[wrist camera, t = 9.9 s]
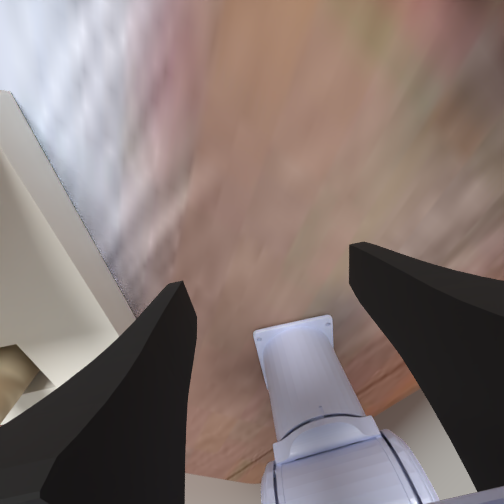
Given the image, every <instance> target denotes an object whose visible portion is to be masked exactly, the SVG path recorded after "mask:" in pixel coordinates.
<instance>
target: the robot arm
mask: <svg viewBox="0 0 504 504" xmlns="http://www.w3.org/2000/svg"><path fill="white" fill-rule="evenodd" d="M349 284H350V286H351V288H352V290H353V291H354V293H355V295H356V297H357V298H358V300H359V302H360V303H361V305H362V306H363V307H364V309H365V310H366V311H367V312H368V314H369V315H370V316H371V318H372V319H373V320H374V321H375V323H376V324H377V325H378V327H379V328H380V329H381V330H382V332H383V333H384V334H385V336H386V337H387V338H388V339H389V341H390V342H391V343H392V345H393V346H394V347H395V349H396V350H397V351H398V353H399V354H400V356H401V357H402V359H403V360H404V362H405V363H406V365H407V367H408V368H409V370H410V371H411V373H412V375H413V376H414V378H415V379H416V381H417V383H418V384H419V386H420V388H421V389H422V391H423V393H424V394H425V396H426V398H427V399H428V401H429V402H430V404H431V406H432V408H433V410H434V411H435V413H436V415H437V417H438V418H439V420H440V422H441V424H442V426H443V427H444V429H445V431H446V433H447V434H448V436H449V438H450V440H451V442H452V443H453V446H454V447H455V449H456V451H457V453H458V455H459V457H460V459H461V460H462V462H463V464H464V466H465V468H466V470H467V472H468V474H469V476H470V478H471V480H472V482H473V484H474V486H475V488H476V490H477V492H476V493H471V494H467V495H462V496H458V497H453V498H449V499H444V500H439V498H438V496H437V494H436V492H435V490H434V488H433V486H432V484H431V482H430V480H429V479H428V477H427V475H426V473H425V472H424V470H423V468H422V466H421V465H420V463H419V462H418V460H417V458H416V457H415V455H414V454H413V452H412V451H411V449H410V448H409V446H408V445H407V444H406V443H405V442H404V441H403V439H402V438H400V437H399V436H397V435H396V434H394V433H393V432H391V431H390V430H389V429H383V430H379V429H378V427H377V426H376V423H375V421H374V420H373V418H372V416H366V415H365V413H364V411H363V409H362V407H361V405H360V402H359V400H358V398H357V396H356V394H355V392H354V390H353V388H352V386H351V384H350V382H349V380H348V378H347V376H346V374H345V372H344V370H343V368H342V366H341V364H340V362H339V360H338V358H337V356H336V354H335V351H334V347H333V319H332V317H331V316H330V315H323V316H318V317H314V318H309V319H304V320H300V321H295V322H291V323H286V324H281V325H277V326H272V327H268V328H263V329H259V330H255V331H254V332H253V337H254V341H255V345H256V348H257V352H258V356H259V360H260V364H261V368H262V372H263V376H264V380H265V384H266V387H267V389H268V390H269V396H270V402H271V408H272V413H273V419H274V425H275V431H276V436H277V442H276V443H274V444H273V450H274V457H275V460H274V461H271V462H268V463H267V465H266V469H265V472H264V474H263V477H262V481H261V504H504V281H501V280H496V279H491V278H486V277H481V276H477V275H473V274H468V273H464V272H460V271H456V270H452V269H448V268H444V267H441V266H438V265H434V264H431V263H427V262H424V261H421V260H418V259H415V258H412V257H409V256H406V255H403V254H400V253H397V252H394V251H391V250H389V249H386V248H383V247H380V246H377V245H374V244H371V243H367V242H360V243H355V244H350V245H349ZM326 323H327V324H326ZM196 339H197V316H196V313H195V311H194V308H193V305H192V303H191V300H190V298H189V295H188V293H187V290H186V288H185V285H184V282H183V281H179V282H174V283H170V284H168V285H167V286H166V287H165V288H164V289H163V290H162V291H161V292H160V293H159V295H158V296H157V297H156V298H155V299H154V300H153V301H152V302H151V304H150V305H149V306H148V307H147V308H146V309H145V310H144V311H143V312H142V314H141V315H140V316H139V317H138V318H137V319H136V320H135V321H134V322H133V323H132V324H131V325H130V326H129V327H128V328H127V329H126V330H125V331H124V332H123V333H122V334H121V335H120V336H119V337H118V338H117V339H116V340H115V341H114V342H113V343H112V344H111V345H110V346H109V347H108V348H107V349H105V350H104V351H103V352H102V353H101V354H100V355H99V356H97V357H96V358H95V359H94V360H93V361H92V362H90V363H89V364H88V365H87V366H85V367H84V368H83V369H81V370H80V371H79V372H78V373H76V374H75V375H74V376H73V377H71V378H70V379H69V380H67V381H66V382H65V383H64V384H62V385H61V386H60V387H58V388H57V389H56V390H54V391H53V392H51V393H50V394H49V395H47V396H46V397H44V398H43V399H42V400H40V401H39V402H37V403H36V404H34V405H33V406H31V407H30V408H28V409H27V410H25V411H24V412H23V413H21V414H20V415H18V416H17V417H15V418H13V419H12V420H10V421H9V422H7V423H6V424H4V425H3V426H1V427H0V504H184V503H185V499H184V498H185V497H184V496H185V446H186V421H187V402H188V393H189V386H190V379H191V373H192V366H193V360H194V353H195V346H196Z"/></svg>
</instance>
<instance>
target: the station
mask: <svg viewBox="0 0 504 504" xmlns="http://www.w3.org/2000/svg"><path fill="white" fill-rule="evenodd" d="M135 320H136V318H135V316H134V314H133V312H132V310H131V309H130V307H129V305H128V303H127V301H126V300H125V298H124V296H123V294H122V292H121V291H120V289H119V287H118V285H117V283H116V282H115V280H114V278H113V276H112V274H111V273H110V271H109V269H108V267H107V265H106V264H105V262H104V260H103V258H102V256H101V255H100V253H99V251H98V249H97V247H96V246H95V244H94V242H93V240H92V238H91V237H90V235H89V233H88V231H87V229H86V227H85V226H84V224H83V222H82V220H81V218H80V217H79V215H78V213H77V211H76V209H75V208H74V206H73V204H72V202H71V200H70V199H69V197H68V195H67V193H66V191H65V190H64V188H63V186H62V184H61V182H60V181H59V179H58V177H57V175H56V173H55V172H54V170H53V168H52V166H51V164H50V163H49V161H48V159H47V157H46V155H45V153H44V152H43V150H42V148H41V146H40V144H39V143H38V141H37V139H36V137H35V135H34V134H33V132H32V130H31V128H30V126H29V125H28V123H27V121H26V119H25V117H24V116H23V114H22V112H21V110H20V108H19V107H18V105H17V103H16V101H15V99H14V98H13V96H12V94H11V92H10V91H4V90H0V347H5V346H9V345H14V344H17V345H18V346H19V348H20V349H21V350H22V351H23V352H24V353H25V354H26V355H27V356H28V357H29V358H30V359H31V360H32V361H33V363H34V364H35V365H36V366H37V367H38V368H39V369H40V371H39V372H38V374H37V375H36V376H35V378H34V379H33V381H32V382H31V383H30V385H29V386H28V387H27V389H26V390H25V391H24V393H23V394H22V395H21V397H20V398H19V400H18V401H17V402H16V404H15V405H14V406H13V408H12V409H11V410H10V412H9V413H8V415H7V416H6V417H5V419H4V420H3V421H2V423H1V424H0V425H3V424H6V423H7V422H9V421H10V420H12V419H13V418H15V417H17V416H18V415H20V414H21V413H23V412H24V411H25V410H27V409H28V408H30V407H31V406H33V405H34V404H36V403H37V402H39V401H40V400H42V399H43V398H44V397H46V396H47V395H49V394H50V393H51V392H53V391H54V390H56V389H57V388H58V387H60V386H61V385H62V384H64V383H65V382H66V381H67V380H69V379H70V378H71V377H73V376H74V375H75V374H76V373H78V372H79V371H80V370H81V369H83V368H84V367H85V366H87V365H88V364H89V363H90V362H92V361H93V360H94V359H95V358H96V357H97V356H99V355H100V354H101V353H102V352H103V351H104V350H105V349H107V348H108V347H109V346H110V345H111V344H112V343H113V342H114V341H115V340H116V339H117V338H118V337H119V336H120V335H121V334H122V333H123V332H124V331H125V330H126V329H127V328H128V327H129V326H130V325H131V324H132V323H133V322H134V321H135Z"/></svg>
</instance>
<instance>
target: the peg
mask: <svg viewBox="0 0 504 504" xmlns="http://www.w3.org/2000/svg"><path fill="white" fill-rule="evenodd" d="M39 371H40V369H39V368H38V367H37V366H36V365H35V364H34V363H33V361H32V360H31V359H30V358H29V357H28V356H27V355H26V354H25V353H24V352H23V351H22V350H21V349H20V348H19V346H18V345H17V344H14V345H9V346H5V347H0V424H1V423H2V421H3V420H4V419H5V417H6V416H7V415H8V413H9V412H10V410H11V409H12V408H13V406H14V405H15V404H16V402H17V401H18V400H19V398H20V397H21V395H22V394H23V393H24V391H25V390H26V389H27V387H28V386H29V385H30V383H31V382H32V381H33V379H34V378H35V376H36V375H37V374H38V372H39Z"/></svg>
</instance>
